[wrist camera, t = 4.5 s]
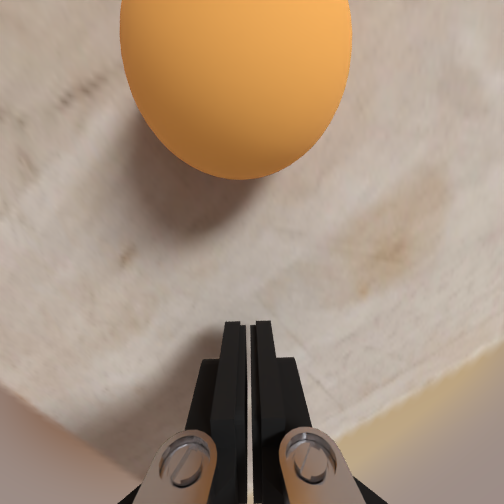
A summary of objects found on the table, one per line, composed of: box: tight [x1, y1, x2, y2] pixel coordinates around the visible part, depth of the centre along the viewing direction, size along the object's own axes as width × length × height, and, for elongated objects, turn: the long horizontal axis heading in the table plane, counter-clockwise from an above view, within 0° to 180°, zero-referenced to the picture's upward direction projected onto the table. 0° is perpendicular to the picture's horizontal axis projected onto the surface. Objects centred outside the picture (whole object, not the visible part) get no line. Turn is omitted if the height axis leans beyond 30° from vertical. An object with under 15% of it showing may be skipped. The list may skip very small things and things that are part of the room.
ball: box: [120, 0, 352, 180], centre depth 6 cm, size 5×5×5 cm
